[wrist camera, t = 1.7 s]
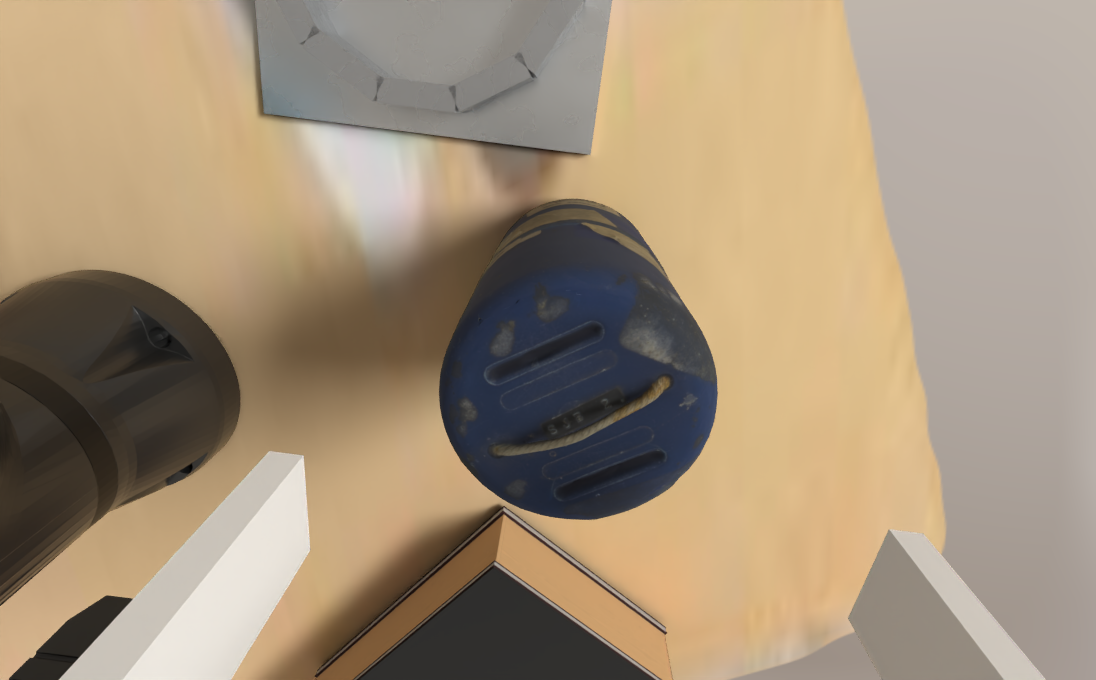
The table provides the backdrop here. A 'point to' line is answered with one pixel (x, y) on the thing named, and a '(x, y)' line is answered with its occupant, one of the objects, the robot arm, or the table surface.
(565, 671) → the book
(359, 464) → the table surface
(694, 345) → the canister
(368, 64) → the flange
